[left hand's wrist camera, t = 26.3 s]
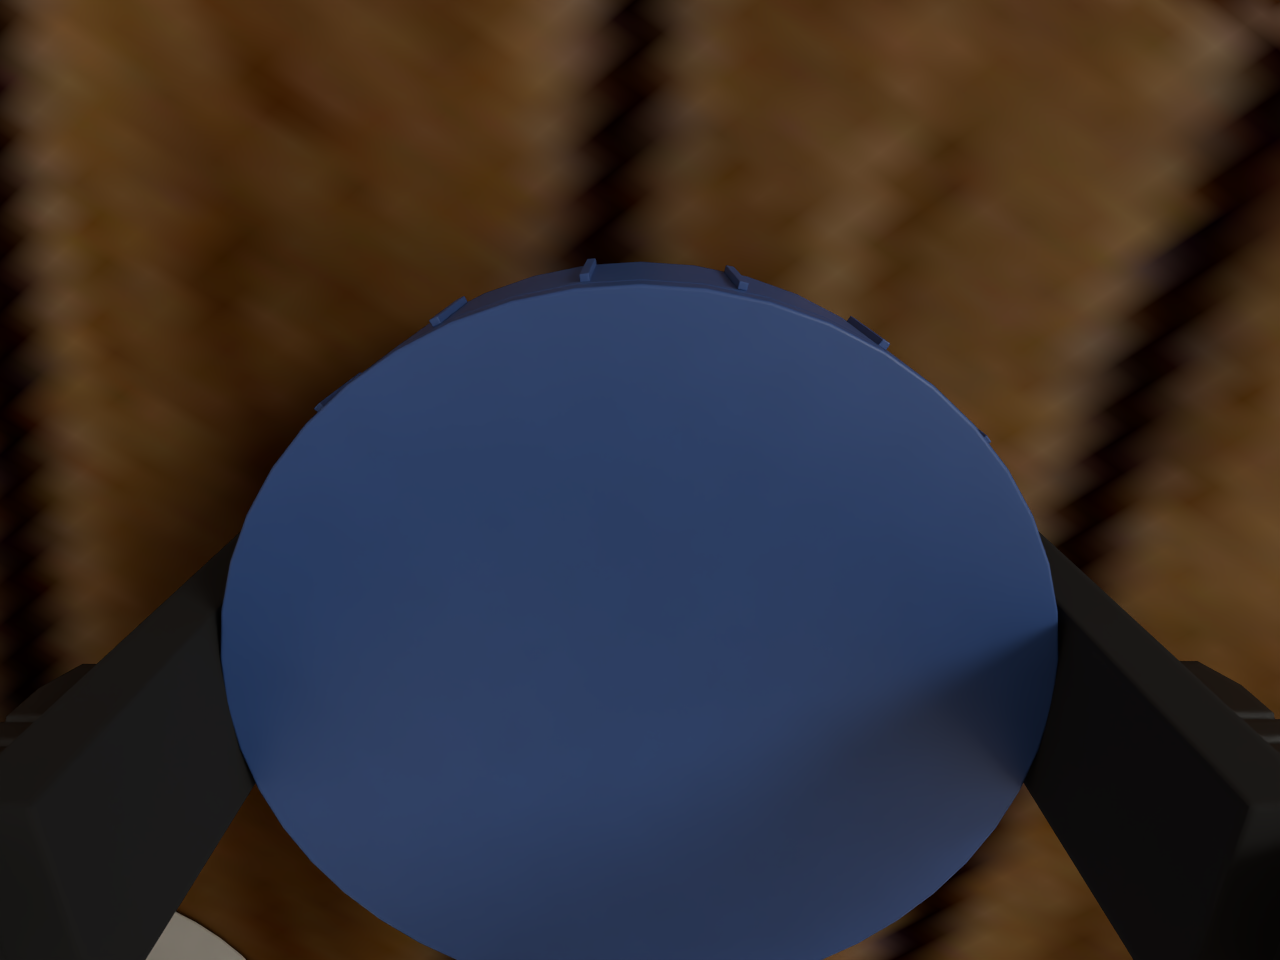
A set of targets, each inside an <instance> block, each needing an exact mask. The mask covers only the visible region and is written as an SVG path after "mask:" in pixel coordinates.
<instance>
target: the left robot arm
mask: <svg viewBox="0 0 1280 960" xmlns="http://www.w3.org/2000/svg"><path fill="white" fill-rule="evenodd" d="M1038 532H1039V531H1038ZM239 535H240V533H239V534H238V535H236V536H235V537H234V538H233V539H232V540H231V541H230V542H229V543H228V544H227V545H226V546H224V547H223V548H222V549H221V550H220V551H219V552H218V553H217V554H216V555H215V556H214V557H213V558H211V559H210V560H209V561H208V562H207V563H206V564H205V565H204V566H203V567H202V568H201V569H200V570H198V571H197V572H196V573H195V574H194V575H193V576H192V577H191V578H190V579H189V580H188V581H186V582H185V583H184V584H183V585H182V586H181V587H180V588H179V589H178V590H177V591H176V592H175V593H173V594H172V595H171V596H170V597H169V598H168V599H167V600H166V601H165V602H164V603H163V604H162V605H160V606H159V607H158V608H157V609H156V610H155V611H154V612H153V613H152V614H151V615H150V616H148V617H147V618H146V619H145V620H144V621H143V622H142V623H141V624H140V625H139V626H138V627H137V628H135V629H134V630H133V631H132V632H131V633H130V634H129V635H128V636H127V637H126V638H125V639H124V640H122V641H121V642H120V643H119V644H118V645H117V646H116V647H115V648H114V649H113V650H112V651H110V652H109V653H108V654H107V655H106V656H105V657H104V658H103V659H102V660H101V661H100V662H99V663H97V664H82V665H80V666H78V667H76V668H75V669H73V670H71V671H69V672H67V673H65V674H64V675H62V676H60V677H58V678H56V679H55V680H53V681H51V682H49V683H47V684H46V685H44V686H42V687H40V688H38V689H37V690H36V691H35V692H34V693H33V694H32V695H30V696H29V697H28V698H27V699H26V700H25V701H24V702H22V703H21V704H20V705H19V706H18V707H17V708H16V709H14V710H13V711H12V712H11V713H10V714H9V715H7V716H6V721H5V722H0V960H146V959H147V957H148V955H149V954H150V952H151V950H152V949H153V947H154V946H155V944H156V942H157V941H158V939H159V938H160V936H161V934H162V933H163V931H164V930H165V928H166V926H167V925H168V923H169V921H170V920H171V918H172V917H173V915H174V913H175V912H176V910H177V909H178V907H179V905H180V904H181V902H182V901H183V899H184V897H185V896H186V894H187V893H188V891H189V889H190V888H191V886H192V884H193V883H194V881H195V880H196V878H197V876H198V875H199V873H200V872H201V870H202V868H203V867H204V865H205V864H206V862H207V860H208V859H209V857H210V855H211V854H212V852H213V851H214V849H215V847H216V846H217V844H218V843H219V841H220V839H221V838H222V836H223V835H224V833H225V831H226V830H227V828H228V826H229V825H230V823H231V822H232V820H233V818H234V817H235V815H236V814H237V812H238V810H239V809H240V807H241V806H242V804H243V802H244V801H245V799H246V797H247V796H248V794H249V793H250V791H251V789H252V788H253V786H254V785H255V783H256V782H255V780H254V778H253V776H252V774H251V771H250V769H249V767H248V765H247V763H246V760H245V758H244V756H243V754H242V752H241V750H240V747H239V744H238V740H237V737H236V733H235V730H234V726H233V722H232V718H231V714H230V710H229V705H228V701H227V696H226V691H225V686H224V680H223V672H222V665H221V611H222V605H223V599H224V593H225V588H226V582H227V577H228V571H229V566H230V561H231V558H232V555H233V552H234V549H235V546H236V544H237V541H238V538H239ZM1039 535H1040V538H1041V541H1042V544H1043V546H1044V549H1045V552H1046V555H1047V558H1048V561H1049V565H1050V570H1051V576H1052V582H1053V588H1054V594H1055V599H1056V605H1057V611H1058V665H1057V672H1056V679H1055V685H1054V690H1053V695H1052V700H1051V705H1050V709H1049V714H1048V718H1047V722H1046V726H1045V730H1044V733H1043V736H1042V740H1041V743H1040V746H1039V750H1038V752H1037V754H1036V756H1035V758H1034V760H1033V762H1032V765H1031V767H1030V769H1029V771H1028V773H1027V775H1026V777H1025V780H1024V784H1025V786H1026V787H1027V789H1028V790H1029V792H1030V794H1031V795H1032V797H1033V799H1034V800H1035V802H1036V803H1037V805H1038V807H1039V808H1040V810H1041V811H1042V813H1043V815H1044V816H1045V818H1046V819H1047V821H1048V823H1049V824H1050V826H1051V827H1052V829H1053V831H1054V832H1055V834H1056V836H1057V837H1058V839H1059V840H1060V842H1061V844H1062V845H1063V847H1064V848H1065V850H1066V852H1067V853H1068V855H1069V856H1070V858H1071V860H1072V861H1073V863H1074V865H1075V866H1076V868H1077V869H1078V871H1079V873H1080V874H1081V876H1082V877H1083V879H1084V881H1085V882H1086V884H1087V885H1088V887H1089V889H1090V890H1091V892H1092V894H1093V895H1094V897H1095V898H1096V900H1097V902H1098V903H1099V905H1100V906H1101V908H1102V910H1103V911H1104V913H1105V914H1106V916H1107V918H1108V919H1109V921H1110V923H1111V924H1112V926H1113V927H1114V929H1115V931H1116V932H1117V934H1118V935H1119V937H1120V939H1121V940H1122V942H1123V943H1124V945H1125V947H1126V948H1127V950H1128V952H1129V953H1130V955H1131V956H1132V958H1133V960H1280V719H1275V718H1274V713H1273V712H1272V711H1270V710H1269V709H1268V708H1267V707H1266V706H1265V705H1264V704H1262V703H1261V702H1260V701H1259V700H1258V699H1257V698H1255V697H1254V696H1253V695H1252V694H1251V693H1250V692H1249V691H1247V690H1246V689H1245V688H1244V687H1243V686H1242V685H1240V684H1238V683H1236V682H1234V681H1233V680H1231V679H1229V678H1227V677H1225V676H1224V675H1222V674H1220V673H1218V672H1216V671H1214V670H1213V669H1211V668H1209V667H1207V666H1205V665H1203V664H1202V663H1200V662H1198V661H1179V660H1177V659H1176V658H1175V657H1174V656H1173V655H1172V654H1171V653H1170V652H1169V651H1168V650H1167V649H1166V648H1164V647H1163V646H1162V645H1161V644H1160V643H1159V642H1158V641H1157V640H1156V639H1155V638H1154V637H1153V636H1151V635H1150V634H1149V633H1148V632H1147V631H1146V630H1145V629H1144V628H1143V627H1142V626H1141V625H1140V624H1138V623H1137V622H1136V621H1135V620H1134V619H1133V618H1132V617H1131V616H1130V615H1129V614H1128V613H1126V612H1125V611H1124V610H1123V609H1122V608H1121V607H1120V606H1119V605H1118V604H1117V603H1116V602H1115V601H1113V600H1112V599H1111V598H1110V597H1109V596H1108V595H1107V594H1106V593H1105V592H1104V591H1103V590H1102V589H1100V588H1099V587H1098V586H1097V585H1096V584H1095V583H1094V582H1093V581H1092V580H1091V579H1090V578H1088V577H1087V576H1086V575H1085V574H1084V573H1083V572H1082V571H1081V570H1080V569H1079V568H1078V567H1077V566H1075V565H1074V564H1073V563H1072V562H1071V561H1070V560H1069V559H1068V558H1067V557H1066V556H1065V555H1064V554H1062V553H1061V552H1060V551H1059V550H1058V549H1057V548H1056V547H1055V546H1054V545H1053V544H1052V543H1050V542H1049V541H1048V540H1047V539H1046V538H1045V537H1044V536H1043V535H1042V534H1041V533H1040V532H1039Z"/></svg>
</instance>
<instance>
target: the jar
mask: <svg viewBox="0 0 1280 960" xmlns="http://www.w3.org/2000/svg"><path fill="white" fill-rule="evenodd" d="M146 960H246V959H245V958H244V957H243V956H242V955H241V954H240V953H238V952H237V951H236V950H235V949H233V948H232V947H231V946H230V945H229V944H227V943H226V942H225V941H224V940H222V939H221V938H220V937H218V936H217V935H215V934H214V933H212V932H210V931H209V930H207V929H206V928H204V927H203V926H201V925H200V924H198V923H197V922H195V921H193V920H191V919H189V918H187V917H185V916H183V915H181V914H179V913H177V912H175V913H174V915H173V917H172V918H171V920H170V921H169V923H168V925H167V926H166V928H165V930H164V931H163V933H162V934H161V936H160V938H159V939H158V941H157V942H156V944H155V946H154V947H153V949H152V950H151V952H150V954H149V955H148V957H147V959H146Z"/></svg>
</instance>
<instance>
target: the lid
mask: <svg viewBox="0 0 1280 960" xmlns="http://www.w3.org/2000/svg"><path fill="white" fill-rule="evenodd" d="M429 321H430V323H429V324H428V325H427V326H425V327H424V328H422V329H421V330H420V331H418V332H417V333H415V334H414V335H413V336H411V337H410V338H408V339H407V340H405V341H404V342H403V343H401V344H400V345H398V346H397V347H396V348H394V349H393V350H392V351H390V352H389V353H388V354H386V355H385V356H384V357H382V358H381V359H380V360H378V361H377V362H376V363H375V364H373V365H372V366H371V367H369V368H368V369H367V370H365V371H364V372H363V373H361V372H360V373H359V374H357V375H356V376H355V377H353V378H352V379H350V380H349V381H348V382H346V383H345V384H344V385H342V386H341V387H340V388H338V389H337V390H336V391H334V392H333V393H332V394H330V395H329V396H328V397H326V398H325V399H324V400H322V401H321V402H320V403H319V404H318V405H317V406H316V407H315V408H314V409H315V410H316V411H317V413H316V414H315V415H314V416H313V417H312V418H311V419H310V420H309V421H308V422H307V423H306V424H305V425H304V427H303V428H302V429H301V431H300V432H299V433H298V434H297V436H296V437H295V438H294V440H293V441H292V442H291V444H290V445H289V446H288V447H287V449H286V450H285V451H284V453H283V454H282V455H281V457H280V458H279V459H278V461H277V462H276V463H275V464H274V466H273V467H272V469H271V471H270V472H269V474H268V476H267V478H266V480H265V482H264V483H263V485H262V487H261V489H260V491H259V493H258V494H257V496H256V498H255V500H254V502H253V504H252V506H251V507H250V509H249V511H248V513H247V515H246V518H245V521H244V524H243V527H242V529H241V532H240V535H239V538H238V541H237V544H236V546H235V549H234V552H233V555H232V558H231V561H230V566H229V571H228V577H227V582H226V588H225V593H224V599H223V605H222V611H221V665H222V672H223V680H224V686H225V691H226V696H227V701H228V705H229V710H230V714H231V718H232V722H233V726H234V730H235V733H236V737H237V740H238V744H239V747H240V750H241V752H242V754H243V756H244V758H245V760H246V763H247V765H248V767H249V769H250V771H251V774H252V776H253V778H254V780H255V782H256V784H257V787H258V789H259V791H260V792H261V794H262V795H263V797H264V798H265V800H266V802H267V803H268V805H269V806H270V808H271V809H272V811H273V813H274V814H275V816H276V817H277V819H278V820H279V822H280V824H281V825H282V827H283V828H284V829H285V830H286V832H287V833H288V834H289V835H290V836H291V838H292V839H293V840H294V841H295V842H296V844H297V845H298V846H299V847H300V848H301V850H302V851H303V852H304V853H305V854H306V856H307V857H308V858H309V859H310V860H311V862H312V863H313V864H314V865H316V866H317V867H318V868H319V869H320V870H321V871H322V872H323V873H324V874H325V875H326V876H327V877H328V878H329V879H330V880H331V881H333V882H334V883H335V884H336V885H337V886H338V887H339V888H340V889H341V890H342V891H343V892H344V893H345V894H347V895H348V896H350V897H351V898H352V899H354V900H355V901H356V902H358V903H359V904H360V905H362V906H363V907H364V908H366V909H367V910H368V911H370V912H371V913H372V914H374V915H375V916H376V917H378V918H379V919H380V920H382V921H384V922H385V923H387V924H389V925H390V926H392V927H394V928H396V929H397V930H399V931H401V932H402V933H404V934H406V935H407V936H409V937H411V938H412V939H414V940H416V941H418V942H419V943H421V944H424V945H426V946H428V947H430V948H432V949H434V950H437V951H439V952H441V953H443V954H445V955H448V956H450V957H452V958H454V959H456V960H822V959H824V958H827V957H829V956H831V955H833V954H835V953H838V952H840V951H842V950H844V949H846V948H849V947H851V946H853V945H855V944H857V943H859V942H861V941H863V940H864V939H866V938H868V937H870V936H871V935H873V934H875V933H876V932H878V931H880V930H882V929H883V928H885V927H887V926H888V925H890V924H892V923H893V922H895V921H897V920H898V919H900V918H901V917H902V916H904V915H905V914H906V913H908V912H909V911H910V910H912V909H913V908H914V907H916V906H917V905H919V904H920V903H921V902H923V901H924V900H925V899H927V898H928V897H929V896H931V895H932V894H933V893H934V892H935V891H937V890H938V889H939V888H940V887H941V886H942V885H943V884H944V883H945V882H946V881H947V880H948V879H949V878H950V877H952V876H953V875H954V874H955V873H956V872H957V871H958V870H959V869H960V868H961V867H962V866H963V865H964V864H965V863H966V862H967V861H968V860H969V859H970V858H971V856H972V855H973V854H974V853H975V852H976V851H977V849H978V848H979V847H980V846H981V845H982V843H983V842H984V841H985V840H986V839H987V837H988V836H989V835H990V834H991V833H992V832H993V830H994V829H995V828H996V826H997V825H998V823H999V822H1000V820H1001V818H1002V817H1003V815H1004V814H1005V812H1006V811H1007V809H1008V808H1009V806H1010V804H1011V803H1012V801H1013V800H1014V798H1015V797H1016V795H1017V794H1018V792H1019V790H1020V788H1021V786H1022V784H1023V782H1024V780H1025V777H1026V775H1027V773H1028V771H1029V769H1030V767H1031V765H1032V762H1033V760H1034V758H1035V756H1036V754H1037V752H1038V750H1039V746H1040V743H1041V740H1042V736H1043V733H1044V730H1045V726H1046V722H1047V718H1048V714H1049V709H1050V705H1051V700H1052V695H1053V690H1054V685H1055V679H1056V672H1057V665H1058V611H1057V605H1056V599H1055V594H1054V588H1053V582H1052V576H1051V570H1050V565H1049V561H1048V558H1047V555H1046V552H1045V549H1044V546H1043V544H1042V541H1041V538H1040V535H1039V532H1038V529H1037V526H1036V523H1035V520H1034V517H1033V515H1032V513H1031V511H1030V509H1029V507H1028V506H1027V504H1026V502H1025V500H1024V498H1023V496H1022V494H1021V492H1020V491H1019V489H1018V487H1017V485H1016V483H1015V481H1014V479H1013V477H1012V476H1011V474H1010V472H1009V470H1008V468H1007V467H1006V466H1005V464H1004V463H1003V462H1002V461H1001V459H1000V458H999V457H998V455H997V454H996V453H995V451H994V450H993V449H992V447H991V446H990V445H989V443H990V442H991V441H990V439H989V438H988V437H987V435H985V434H984V433H983V432H982V431H980V430H979V429H978V428H977V427H976V426H975V425H974V424H973V423H972V422H971V421H970V420H969V419H968V418H967V417H966V416H965V415H964V414H963V413H962V412H961V411H960V410H959V409H957V408H956V407H955V406H954V405H953V404H952V403H951V402H950V401H949V400H948V399H947V398H946V397H945V396H944V395H943V394H942V393H941V392H940V391H939V390H938V389H937V388H936V387H935V386H934V385H932V384H931V383H930V382H928V381H927V380H926V379H924V378H923V377H922V376H920V375H919V374H918V373H916V372H915V371H914V370H912V369H911V368H910V367H908V366H907V365H906V364H904V363H903V362H902V361H900V360H899V359H898V358H896V357H895V356H894V355H892V354H891V353H890V352H889V351H887V350H886V349H887V348H888V346H889V345H890V343H888V342H887V341H886V340H884V339H883V338H881V337H880V336H879V335H877V334H876V333H875V332H873V331H872V330H870V329H869V328H868V327H866V326H865V325H863V324H862V323H861V322H859V321H858V320H856V319H855V318H853V317H852V316H850V318H849V319H848V320H847V321H846V320H844V319H843V318H841V317H839V316H837V315H835V314H833V313H832V312H830V311H828V310H826V309H824V308H822V307H820V306H818V305H816V304H814V303H812V302H811V301H809V300H807V299H805V298H803V297H801V296H799V295H797V294H795V293H792V292H789V291H786V290H783V289H780V288H778V287H775V286H772V285H769V284H766V283H764V282H761V281H758V280H755V279H752V278H750V277H747V276H742V275H741V274H740V273H739V272H738V271H737V270H736V269H735V268H734V267H732V266H727V265H726V267H725V271H724V272H723V271H718V270H713V269H708V268H703V267H699V266H692V265H678V264H664V263H650V262H631V263H616V264H600V265H596V259H595V258H594V259H587V261H586V263H585V265H584V266H581V267H576V268H571V269H566V270H561V271H556V272H552V273H547V274H542V275H537V276H533V277H530V278H527V279H524V280H521V281H519V282H516V283H513V284H510V285H507V286H504V287H501V288H498V289H496V290H493V291H490V292H487V293H484V294H482V295H480V296H478V297H477V298H475V299H473V300H471V301H469V302H467V300H466V299H465V297H464V296H463V297H461V298H459V299H457V300H456V301H454V302H453V303H452V304H450V305H449V306H448V307H446V308H445V309H444V310H442V311H441V312H440V313H438V314H437V315H436V316H434V317H433V318H432V319H430V320H429Z"/></svg>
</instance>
